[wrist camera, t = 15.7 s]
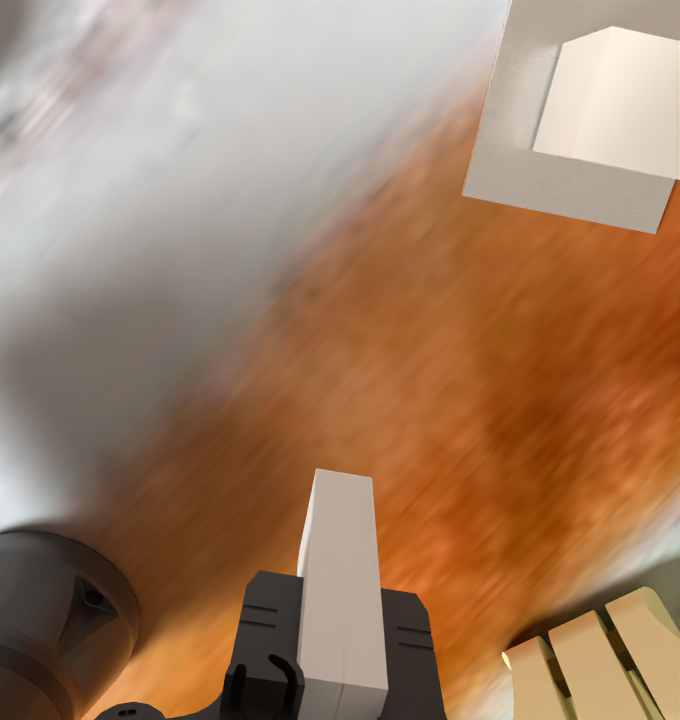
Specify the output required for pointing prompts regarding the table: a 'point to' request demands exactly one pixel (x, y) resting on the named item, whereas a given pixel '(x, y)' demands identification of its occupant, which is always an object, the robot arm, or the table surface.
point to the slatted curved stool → (602, 666)
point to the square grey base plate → (526, 106)
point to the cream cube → (616, 103)
